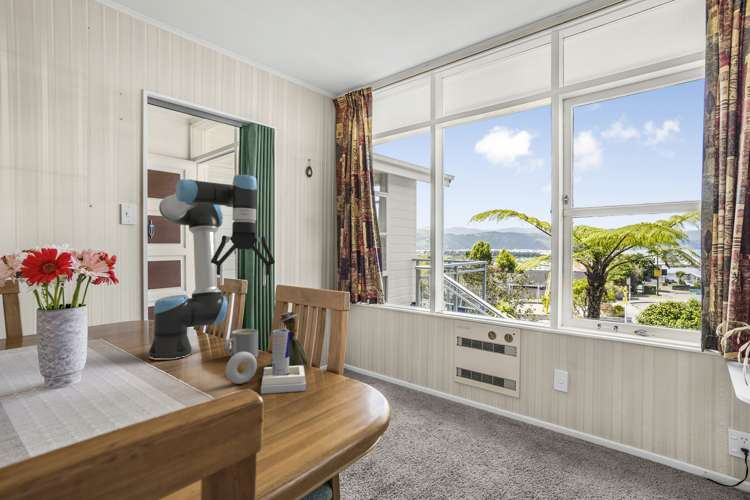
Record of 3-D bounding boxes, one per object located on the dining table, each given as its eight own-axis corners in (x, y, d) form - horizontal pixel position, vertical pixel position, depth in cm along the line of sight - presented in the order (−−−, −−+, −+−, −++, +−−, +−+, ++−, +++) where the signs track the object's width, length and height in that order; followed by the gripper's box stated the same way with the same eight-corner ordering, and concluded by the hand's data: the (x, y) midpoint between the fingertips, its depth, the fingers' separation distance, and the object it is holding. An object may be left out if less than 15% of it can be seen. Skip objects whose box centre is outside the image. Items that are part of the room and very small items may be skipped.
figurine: (286, 358, 150) (287, 307, 150) (317, 363, 144) (318, 310, 145) (261, 368, 137) (262, 312, 137) (293, 374, 131) (294, 316, 131)
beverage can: (291, 376, 123) (292, 329, 123) (283, 381, 118) (283, 332, 118) (278, 374, 125) (278, 328, 125) (268, 379, 120) (269, 331, 120)
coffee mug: (252, 352, 159) (252, 327, 159) (261, 357, 151) (261, 332, 152) (218, 357, 151) (219, 331, 151) (226, 363, 143) (227, 336, 143)
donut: (253, 378, 127) (254, 348, 127) (258, 381, 124) (259, 350, 124) (223, 385, 120) (224, 353, 120) (228, 388, 117) (228, 355, 117)
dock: (264, 376, 129) (264, 364, 129) (303, 374, 132) (303, 362, 132) (260, 393, 114) (261, 380, 114) (305, 390, 117) (305, 377, 117)
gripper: (202, 219, 123) (201, 286, 123) (282, 222, 129) (281, 285, 129) (206, 221, 130) (205, 284, 130) (282, 223, 136) (281, 283, 136)
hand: (243, 285), depth 130 cm, fingers open, 13 cm apart
